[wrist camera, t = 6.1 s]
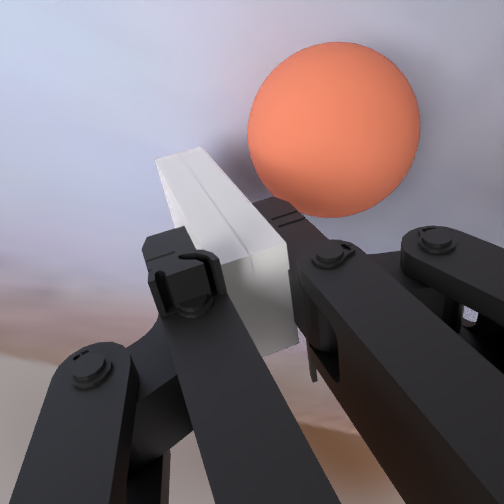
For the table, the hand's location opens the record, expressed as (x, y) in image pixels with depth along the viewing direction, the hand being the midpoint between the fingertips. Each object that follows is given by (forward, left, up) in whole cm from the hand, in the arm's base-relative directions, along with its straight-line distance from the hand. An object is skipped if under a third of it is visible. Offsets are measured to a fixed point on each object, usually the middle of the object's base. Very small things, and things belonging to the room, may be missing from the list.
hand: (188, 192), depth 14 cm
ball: (+5, +1, 0) cm, 5 cm away
